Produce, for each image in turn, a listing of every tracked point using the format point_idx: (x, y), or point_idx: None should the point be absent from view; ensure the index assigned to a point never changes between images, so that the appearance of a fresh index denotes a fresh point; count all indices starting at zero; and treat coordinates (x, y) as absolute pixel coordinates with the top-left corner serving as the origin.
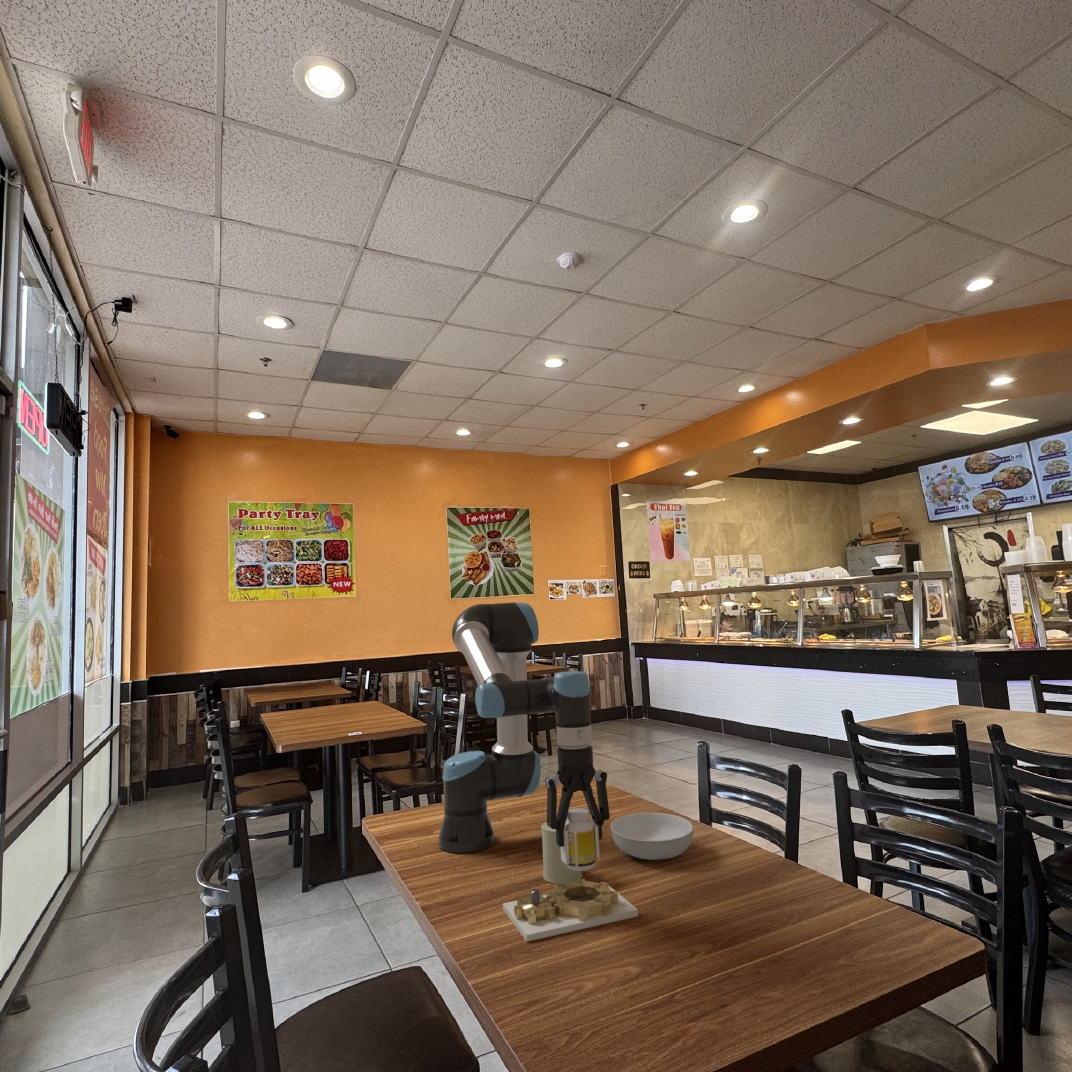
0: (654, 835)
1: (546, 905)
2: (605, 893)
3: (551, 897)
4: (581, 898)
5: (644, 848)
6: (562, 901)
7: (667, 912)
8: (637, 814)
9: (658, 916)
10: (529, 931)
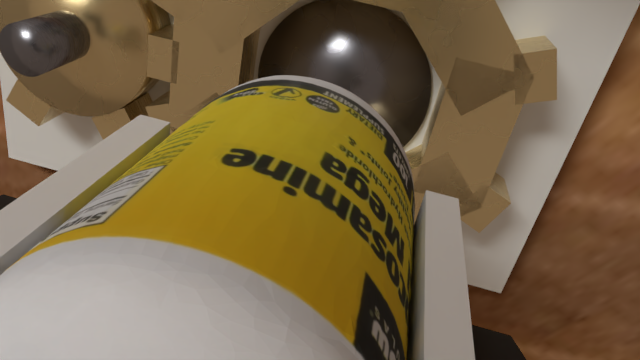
0: None
1: (109, 93)
2: (439, 185)
3: (175, 19)
4: (370, 44)
5: None
6: (197, 110)
7: (618, 328)
8: None
9: (558, 324)
10: (26, 142)
